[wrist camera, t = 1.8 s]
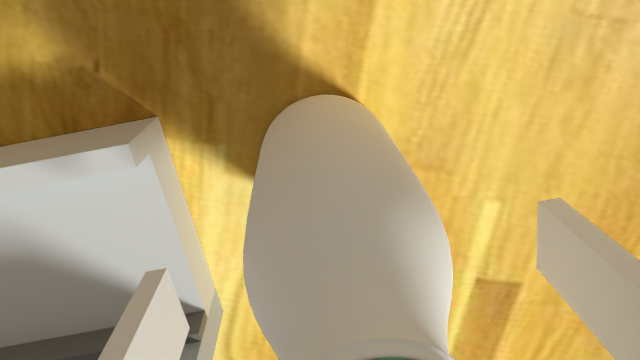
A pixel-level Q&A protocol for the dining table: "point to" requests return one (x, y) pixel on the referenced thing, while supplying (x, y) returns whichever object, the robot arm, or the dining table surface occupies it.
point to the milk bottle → (344, 241)
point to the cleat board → (95, 242)
